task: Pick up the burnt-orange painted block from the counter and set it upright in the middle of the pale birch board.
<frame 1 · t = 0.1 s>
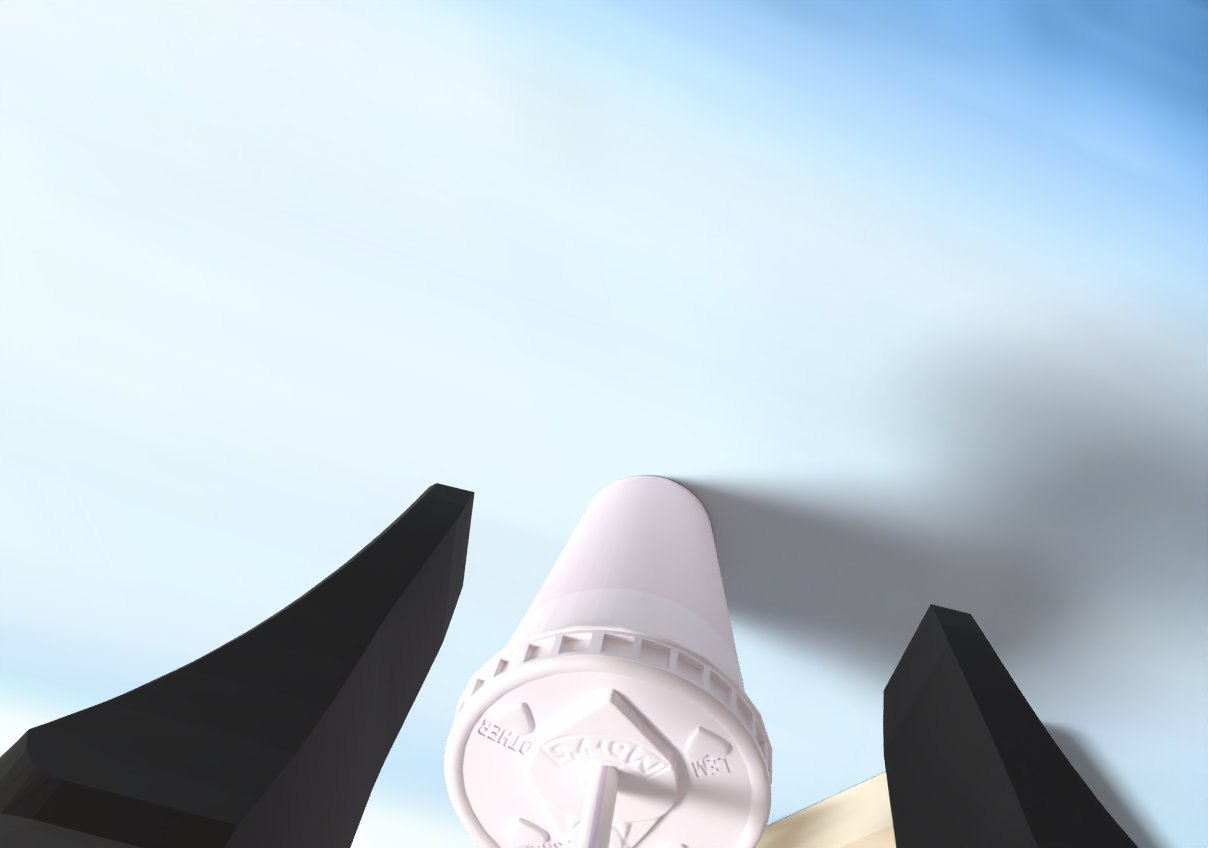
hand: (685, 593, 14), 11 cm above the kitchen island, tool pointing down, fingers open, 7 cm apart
smoothie: (647, 529, 26), on the kitchen island
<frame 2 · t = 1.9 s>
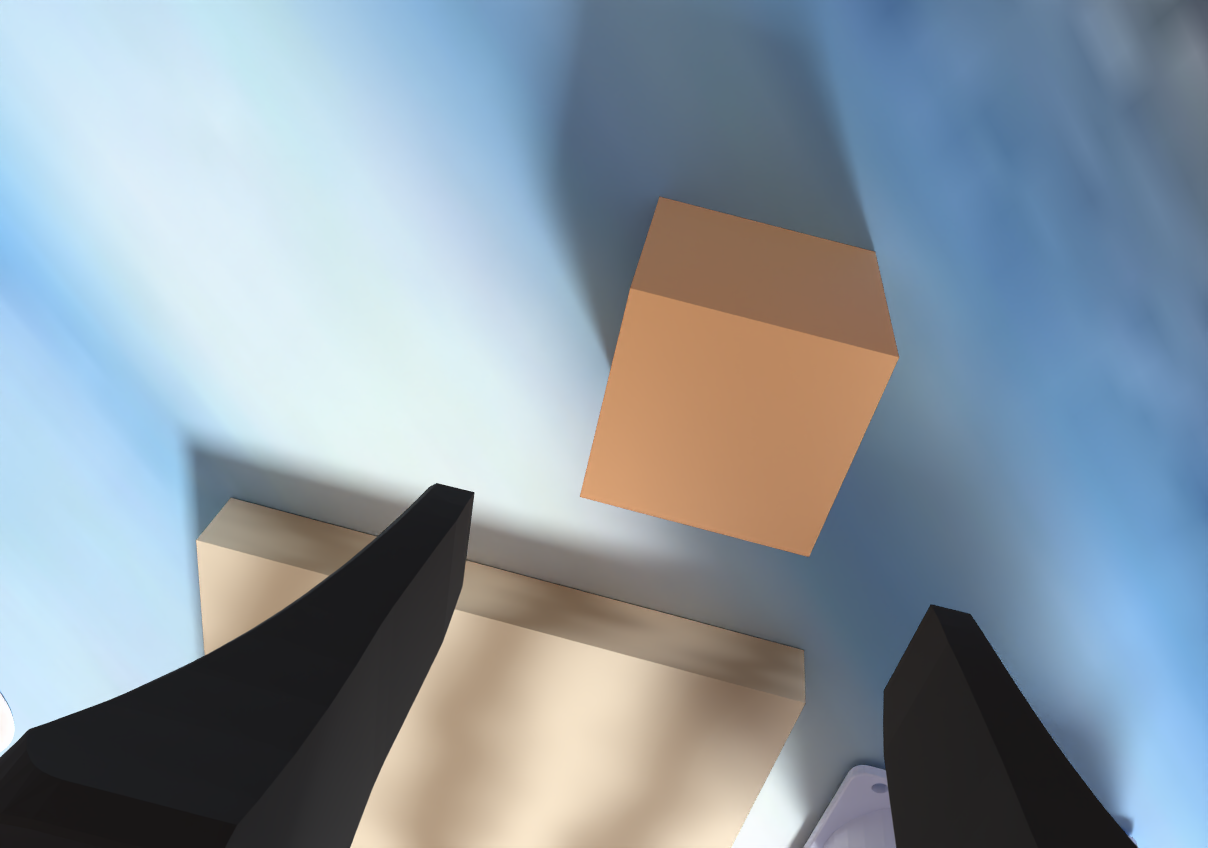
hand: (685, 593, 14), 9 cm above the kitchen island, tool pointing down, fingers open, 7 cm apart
block: (736, 318, 22), on the kitchen island
base board: (486, 716, 32), on the kitchen island
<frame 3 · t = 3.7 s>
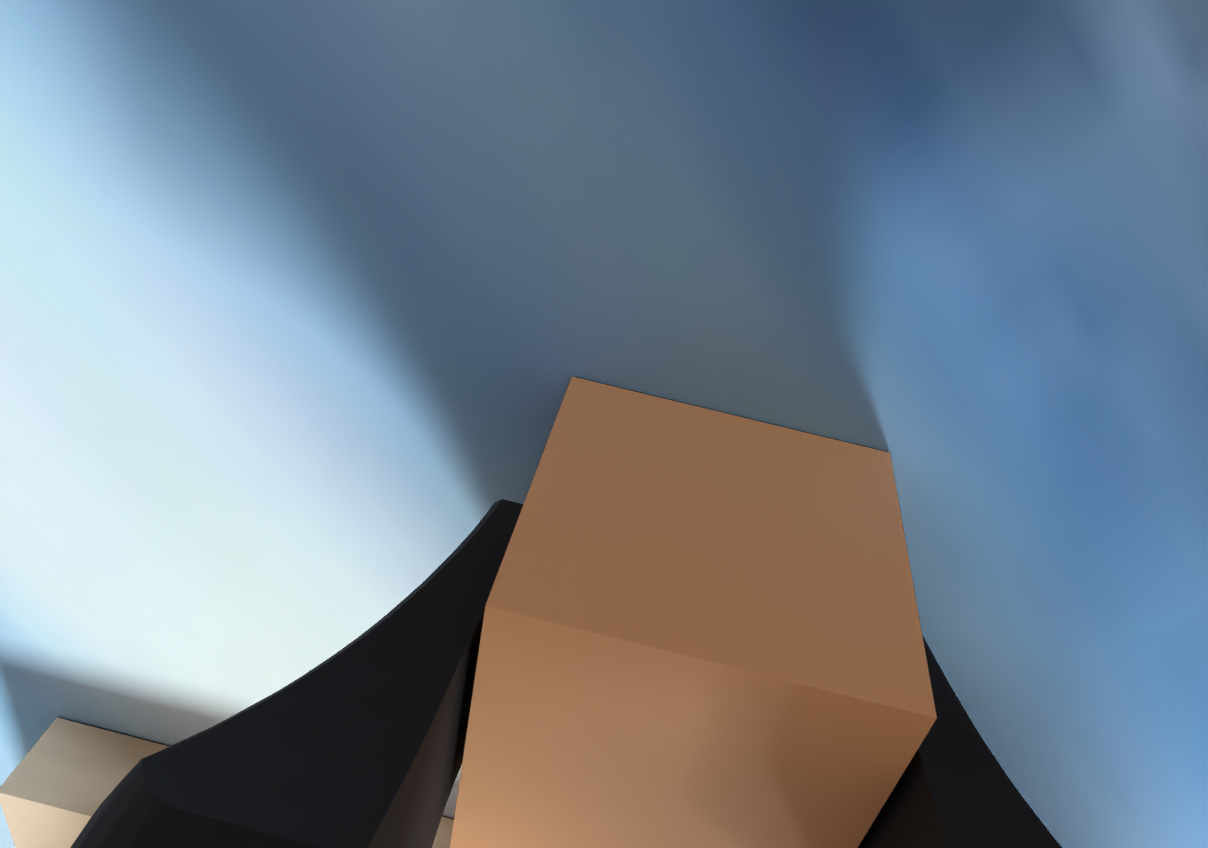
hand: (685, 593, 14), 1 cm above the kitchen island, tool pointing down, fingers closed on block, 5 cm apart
block: (692, 534, 15), on the kitchen island, touching gripper
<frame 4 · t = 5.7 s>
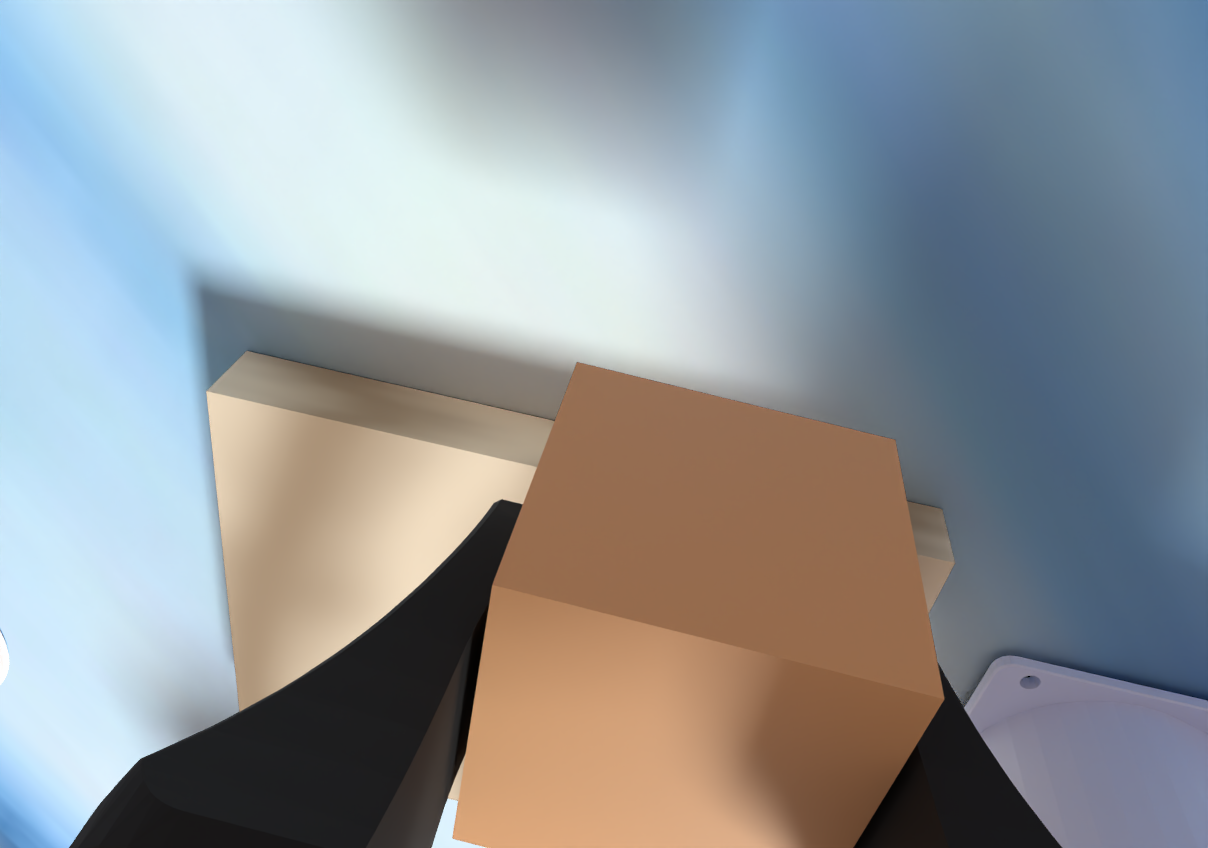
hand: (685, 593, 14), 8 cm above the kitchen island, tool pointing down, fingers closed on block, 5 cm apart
block: (696, 522, 15), point 7 cm above the kitchen island, touching gripper
base board: (553, 619, 27), on the kitchen island
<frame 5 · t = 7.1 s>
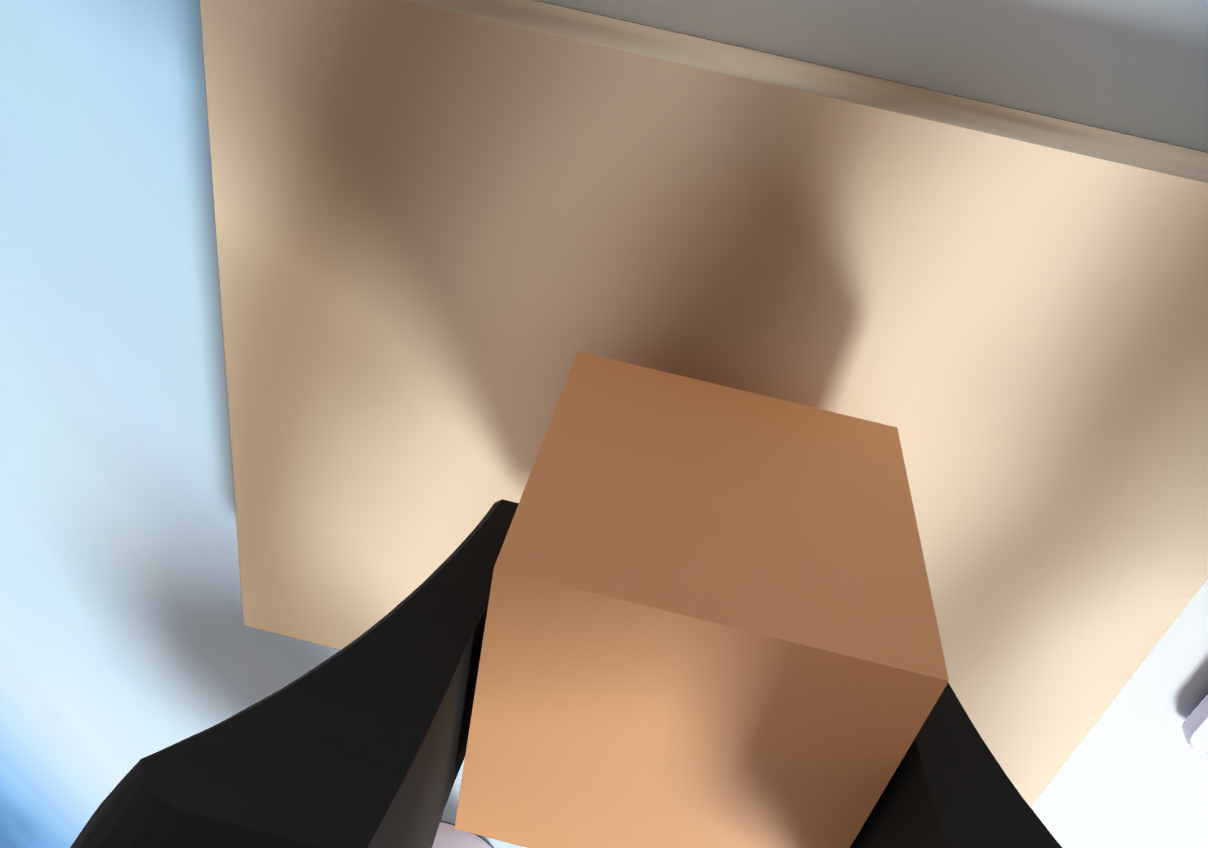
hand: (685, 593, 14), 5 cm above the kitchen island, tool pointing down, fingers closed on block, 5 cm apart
block: (698, 512, 15), point 3 cm above the kitchen island, touching gripper
base board: (706, 423, 18), on the kitchen island
when the fingers open (5 cm above the kitchen island, at t = 7.9 s): block drops 1 cm, resting on base board.
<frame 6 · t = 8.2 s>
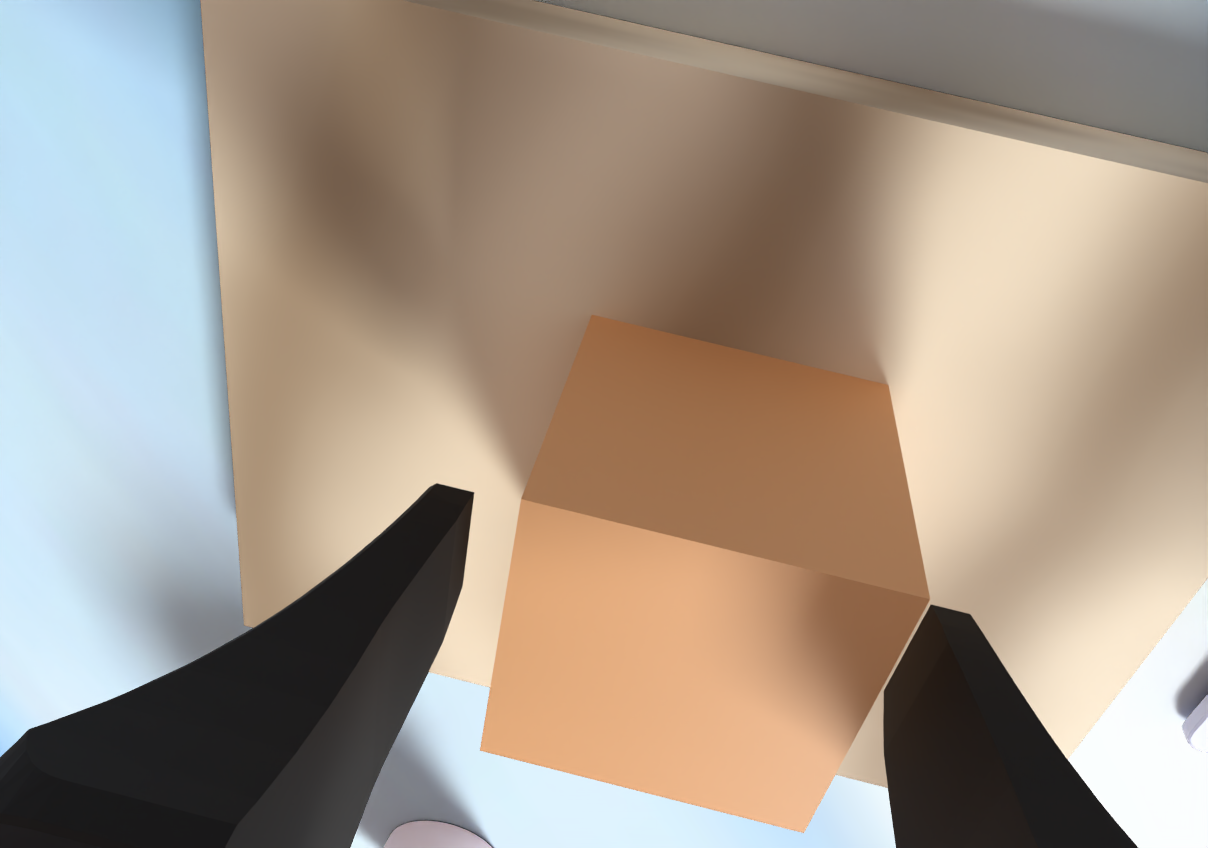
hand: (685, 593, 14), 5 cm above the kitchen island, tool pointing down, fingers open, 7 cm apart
block: (703, 468, 16), point 2 cm above the kitchen island, touching base board
base board: (706, 423, 18), on the kitchen island
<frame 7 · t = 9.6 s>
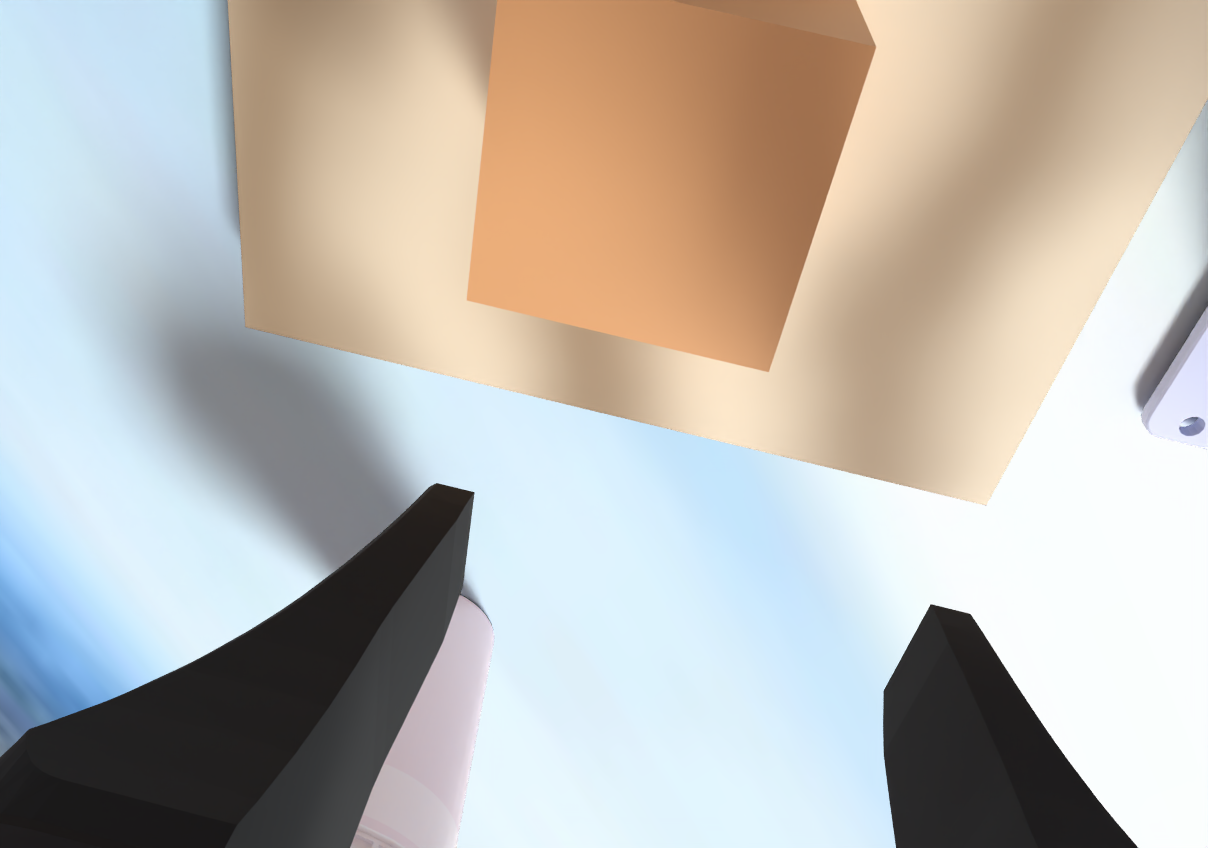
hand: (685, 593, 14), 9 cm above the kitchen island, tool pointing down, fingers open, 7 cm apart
block: (679, 101, 17), point 2 cm above the kitchen island, touching base board
smoothie: (441, 624, 30), on the kitchen island
base board: (684, 94, 19), on the kitchen island
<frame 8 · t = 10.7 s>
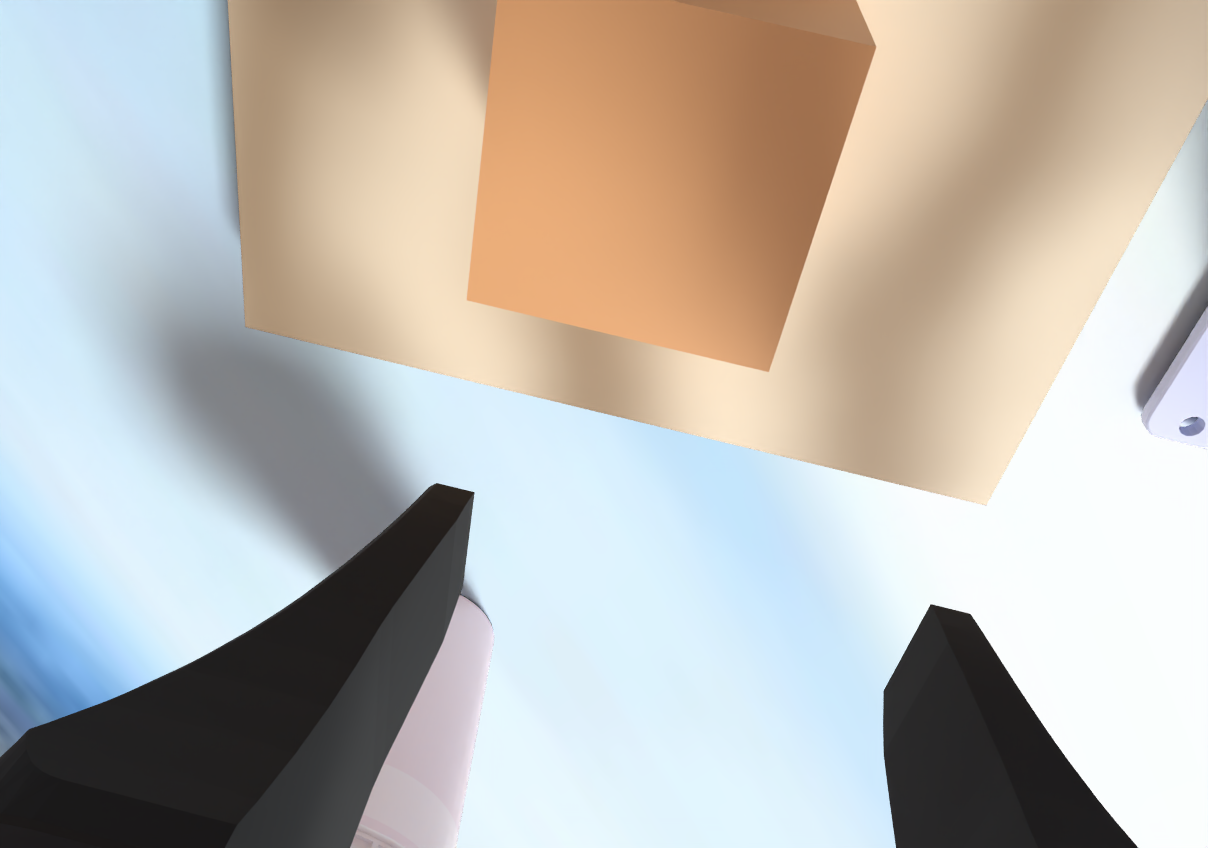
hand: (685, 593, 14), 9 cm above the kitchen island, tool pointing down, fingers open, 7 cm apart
block: (679, 101, 17), point 2 cm above the kitchen island, touching base board
smoothie: (441, 624, 30), on the kitchen island
base board: (684, 94, 19), on the kitchen island
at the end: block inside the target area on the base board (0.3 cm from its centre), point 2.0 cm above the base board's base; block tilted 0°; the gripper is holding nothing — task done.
